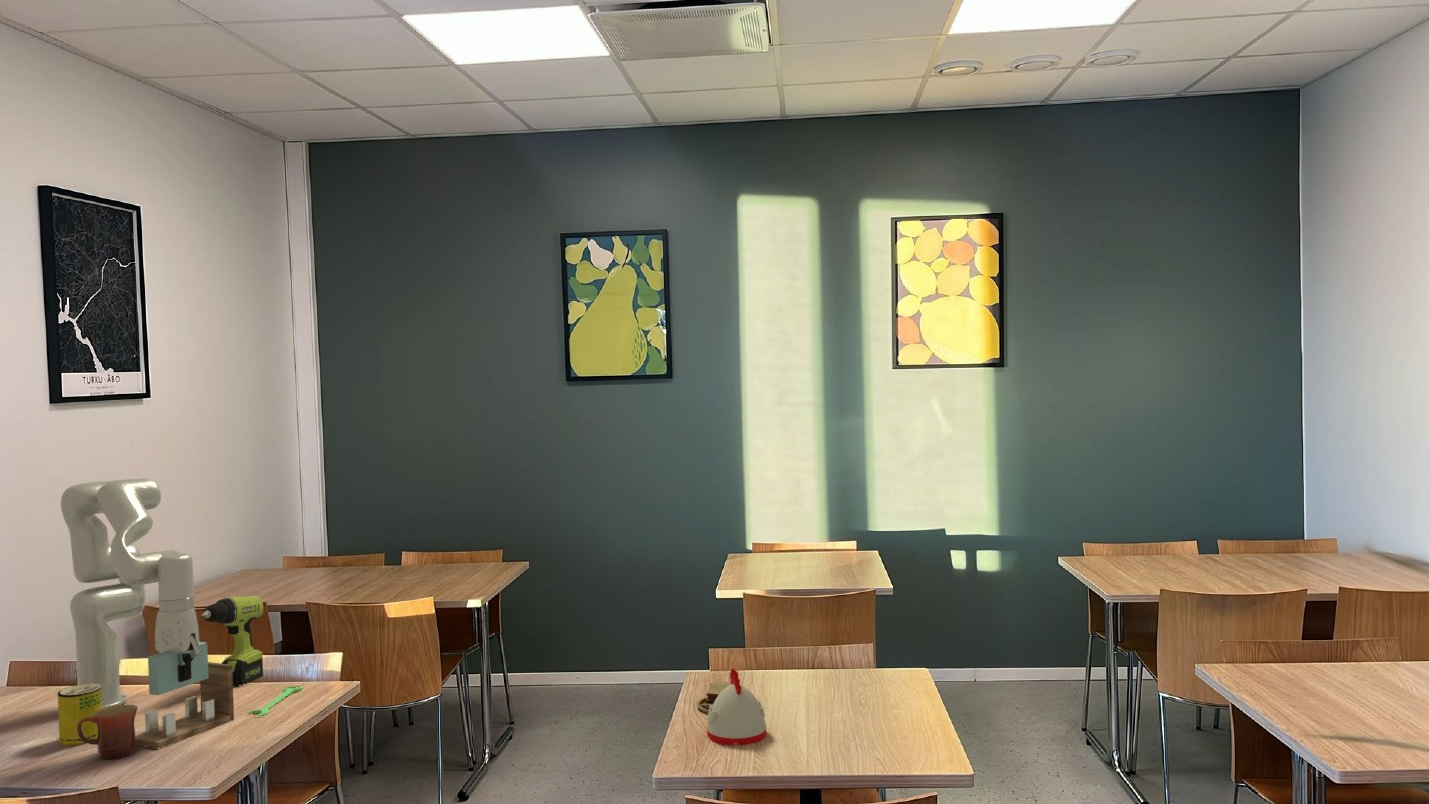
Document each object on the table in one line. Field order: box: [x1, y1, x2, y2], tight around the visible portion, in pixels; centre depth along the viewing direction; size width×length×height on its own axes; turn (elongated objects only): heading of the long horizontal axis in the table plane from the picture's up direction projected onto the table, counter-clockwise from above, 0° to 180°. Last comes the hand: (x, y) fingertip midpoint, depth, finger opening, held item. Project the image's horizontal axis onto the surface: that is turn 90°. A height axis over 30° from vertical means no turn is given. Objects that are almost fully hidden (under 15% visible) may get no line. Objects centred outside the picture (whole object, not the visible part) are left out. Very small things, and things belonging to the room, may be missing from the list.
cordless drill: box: [200, 595, 264, 687], centre depth 278 cm, size 23×7×25 cm, turn 170°
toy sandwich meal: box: [696, 681, 731, 714], centre depth 251 cm, size 12×14×5 cm
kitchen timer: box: [706, 668, 767, 746], centre depth 231 cm, size 14×14×15 cm
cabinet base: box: [135, 661, 235, 749], centre depth 241 cm, size 21×10×14 cm, turn 158°
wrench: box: [246, 685, 304, 717], centre depth 262 cm, size 25×2×5 cm
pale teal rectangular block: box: [147, 641, 209, 696], centre depth 240 cm, size 14×3×9 cm, turn 158°
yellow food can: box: [57, 684, 102, 746], centre depth 238 cm, size 9×9×12 cm
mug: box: [77, 704, 138, 760], centre depth 226 cm, size 12×9×10 cm
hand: (179, 678), depth 240 cm, fingers closed on pale teal rectangular block, 3 cm apart
